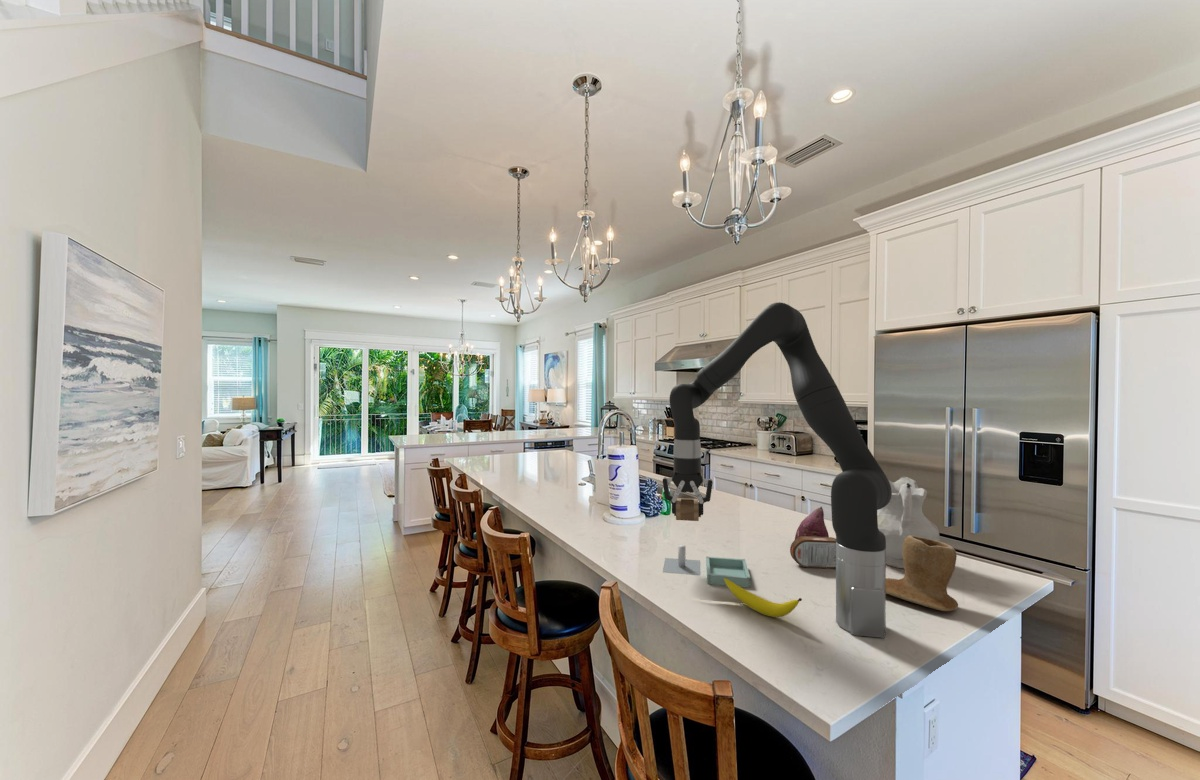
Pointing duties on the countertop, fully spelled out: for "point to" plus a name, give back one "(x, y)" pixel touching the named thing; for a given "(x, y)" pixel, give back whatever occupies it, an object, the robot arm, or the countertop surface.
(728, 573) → the tray
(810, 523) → the vegetable
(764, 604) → the banana
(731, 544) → the countertop surface
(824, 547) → the tin
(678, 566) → the grey plate with post
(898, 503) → the ceramic pitcher
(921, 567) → the brown felt boot
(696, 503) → the stepped wooden block
